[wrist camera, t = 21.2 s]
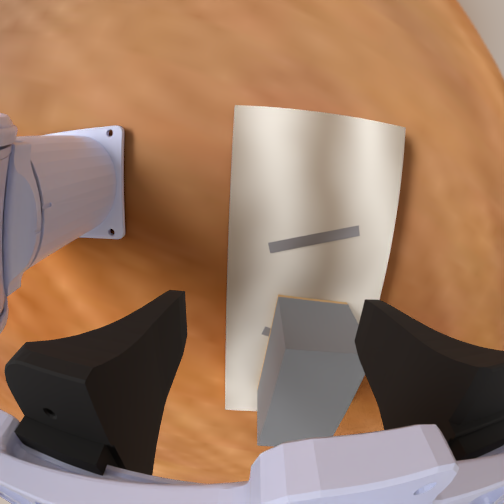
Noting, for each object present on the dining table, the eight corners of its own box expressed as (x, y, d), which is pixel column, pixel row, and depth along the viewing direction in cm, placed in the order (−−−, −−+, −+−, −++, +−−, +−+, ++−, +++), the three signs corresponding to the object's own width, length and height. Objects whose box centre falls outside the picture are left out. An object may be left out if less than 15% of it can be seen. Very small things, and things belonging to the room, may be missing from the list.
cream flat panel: (226, 400, 25) (225, 409, 24) (235, 108, 18) (234, 105, 16) (342, 400, 25) (344, 409, 24) (397, 128, 18) (405, 127, 17)
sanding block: (257, 388, 23) (257, 445, 18) (277, 294, 20) (285, 348, 15) (315, 392, 23) (326, 446, 18) (346, 302, 20) (374, 353, 15)
